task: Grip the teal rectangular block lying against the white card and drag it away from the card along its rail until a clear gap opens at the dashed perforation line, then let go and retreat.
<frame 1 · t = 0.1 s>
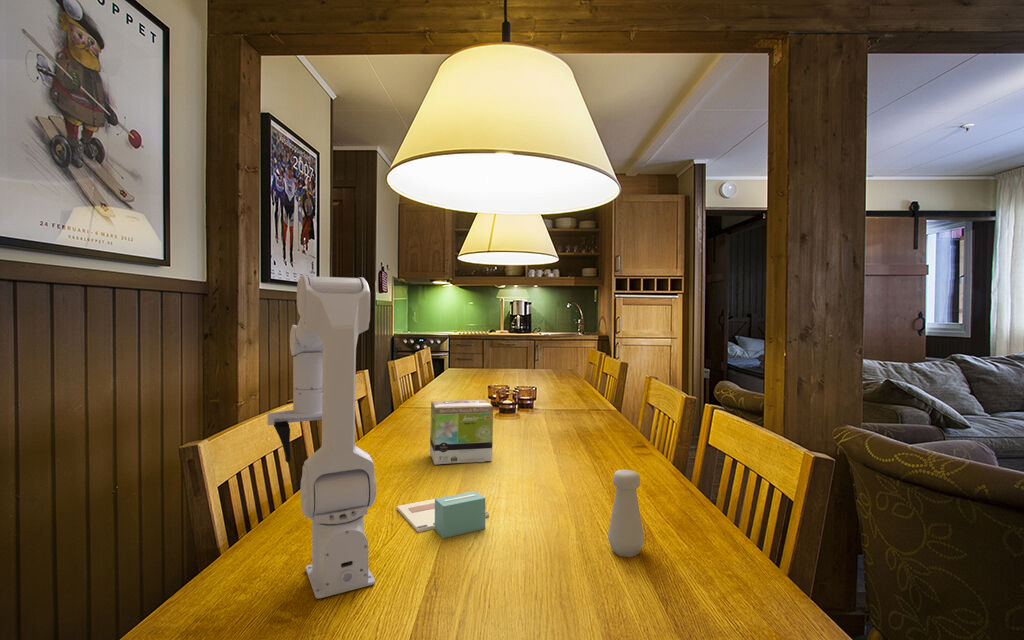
hand: (309, 458, 99), 10 cm above the table, tool pointing down, fingers open, 7 cm apart
white card: (442, 512, 98), on the table
tea box: (460, 459, 134), on the table
salt shaker: (625, 552, 83), on the table
teal rectangular block: (460, 513, 91), point 3 cm above the table, slide at 0.0 cm
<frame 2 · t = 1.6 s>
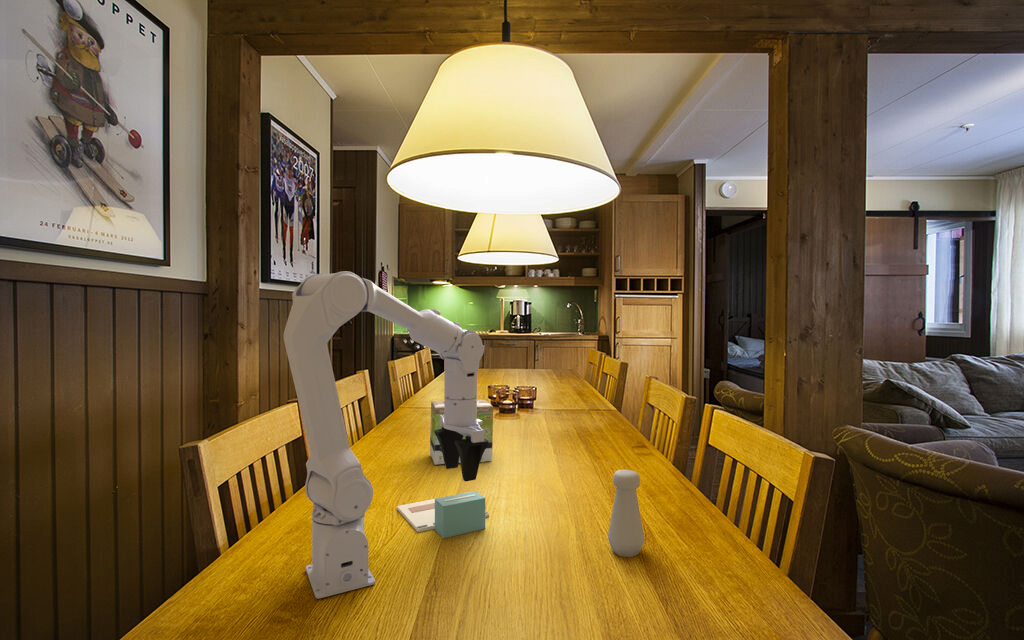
hand: (460, 473, 91), 10 cm above the table, tool pointing down, fingers open, 7 cm apart
nothing on the table moved.
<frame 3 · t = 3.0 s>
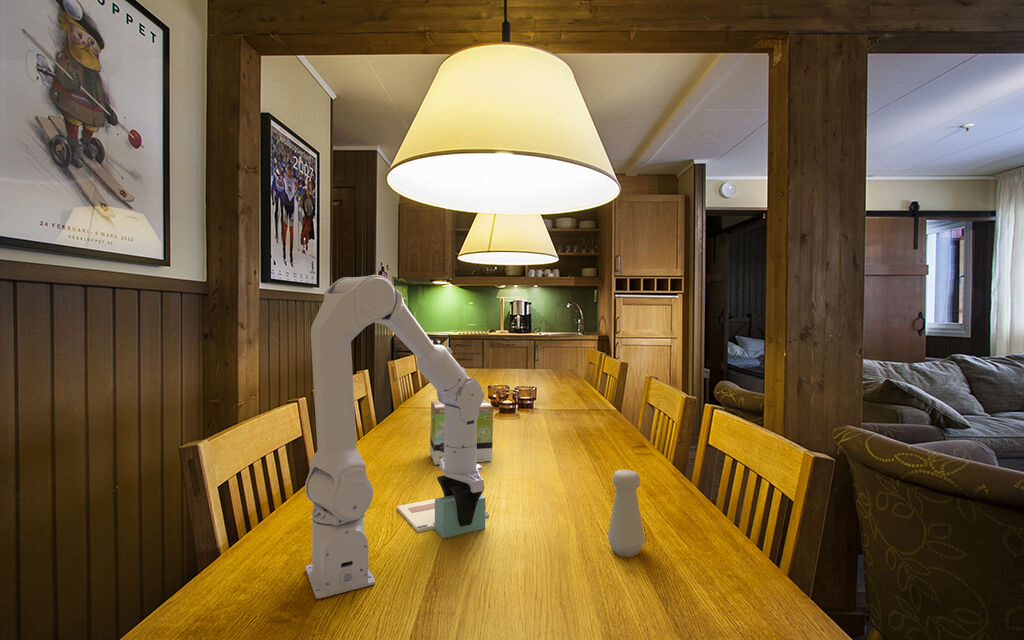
hand: (460, 520, 91), 2 cm above the table, tool pointing down, fingers closed on teal rectangular block, 4 cm apart
teal rectangular block: (460, 513, 91), point 3 cm above the table, slide at 0.0 cm, touching gripper
everything else where it was.
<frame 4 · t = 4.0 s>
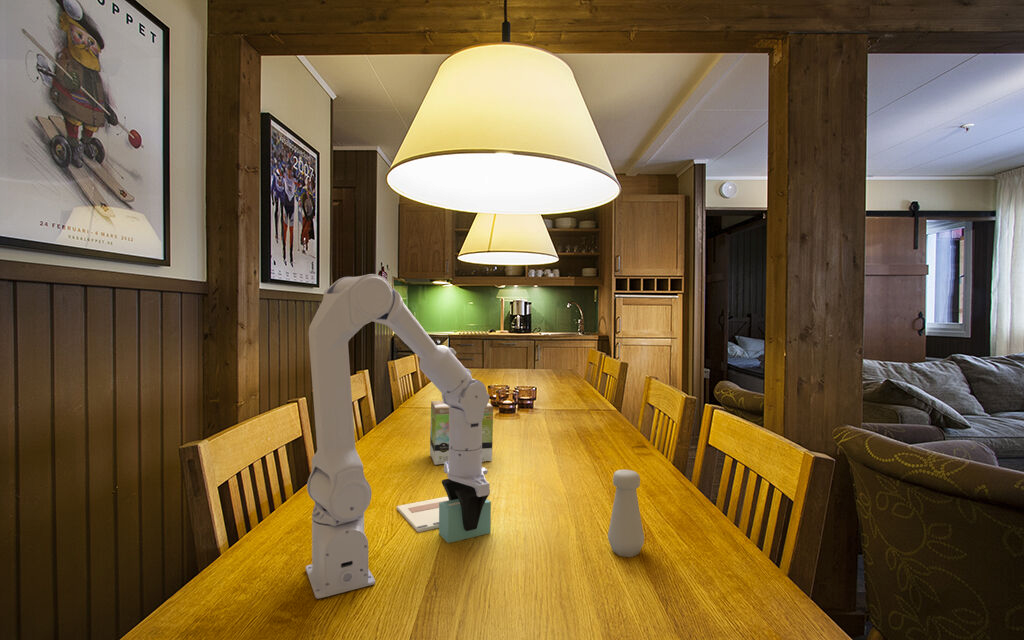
hand: (465, 524, 89), 2 cm above the table, tool pointing down, fingers closed on teal rectangular block, 4 cm apart
teal rectangular block: (464, 517, 89), point 3 cm above the table, slide at 2.1 cm, touching gripper
everything else where it was.
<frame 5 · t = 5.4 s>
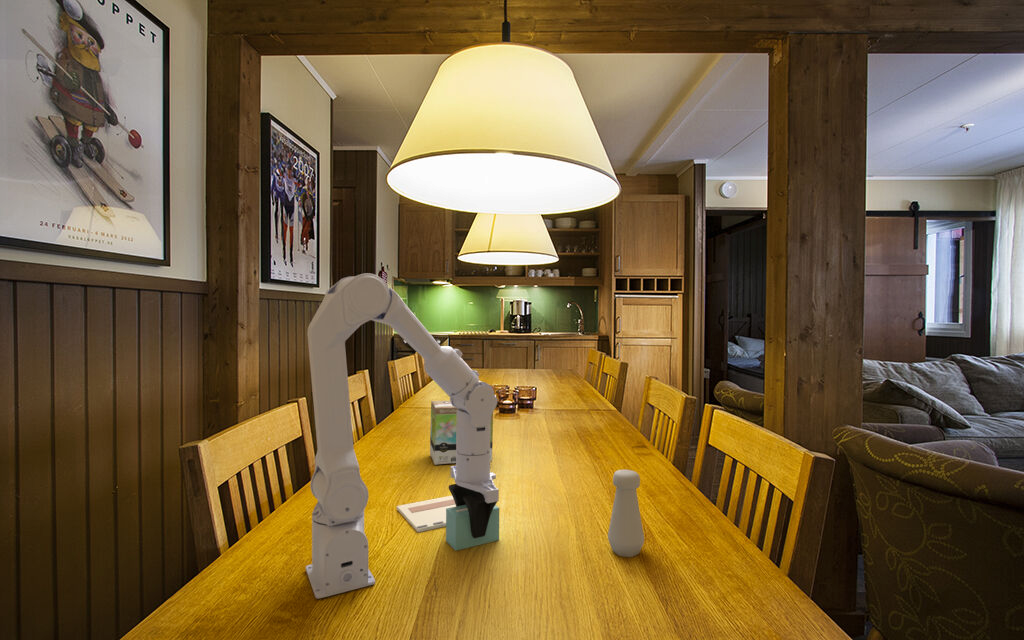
hand: (472, 531, 87), 2 cm above the table, tool pointing down, fingers closed on teal rectangular block, 4 cm apart
teal rectangular block: (472, 524, 87), point 3 cm above the table, slide at 5.2 cm, touching gripper
everything else where it was.
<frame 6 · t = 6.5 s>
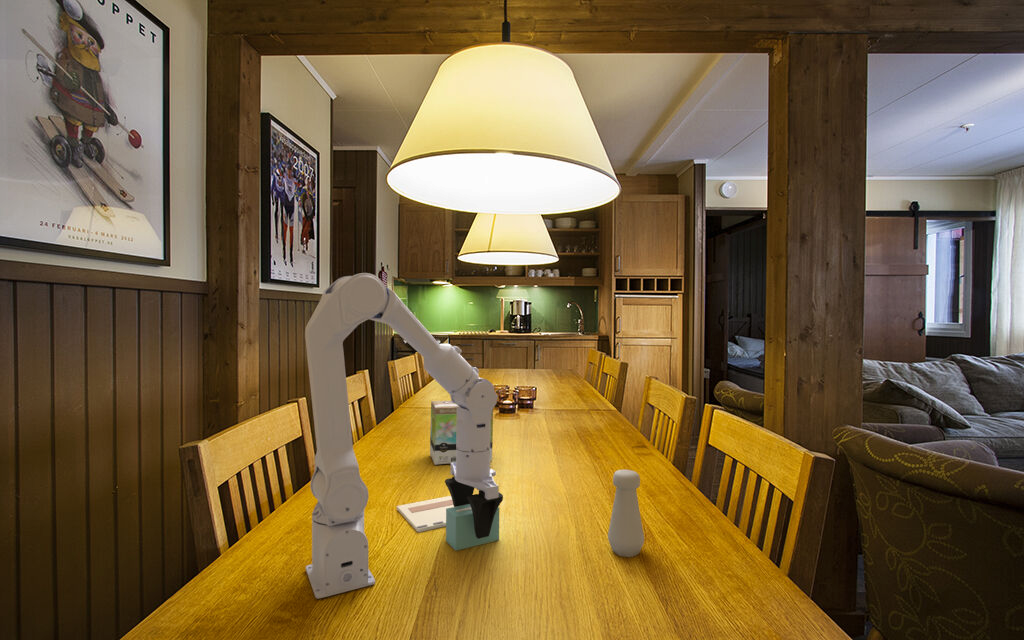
hand: (472, 527, 87), 2 cm above the table, tool pointing down, fingers open, 7 cm apart
teal rectangular block: (472, 524, 87), point 3 cm above the table, slide at 5.2 cm
everything else where it was.
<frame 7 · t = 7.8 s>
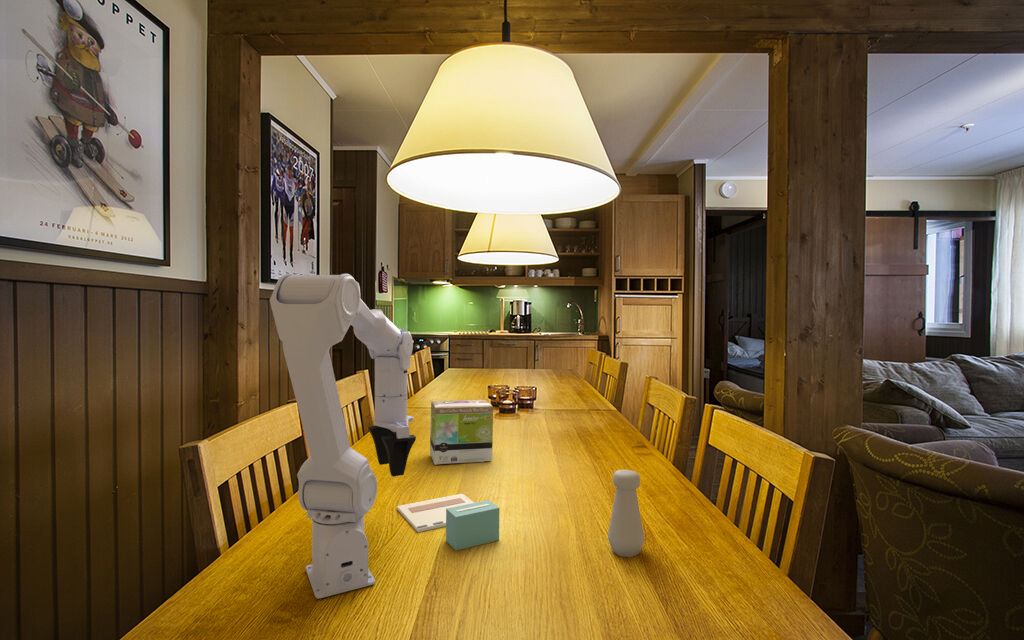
hand: (390, 469, 93), 10 cm above the table, tool pointing down, fingers open, 7 cm apart
nothing on the table moved.
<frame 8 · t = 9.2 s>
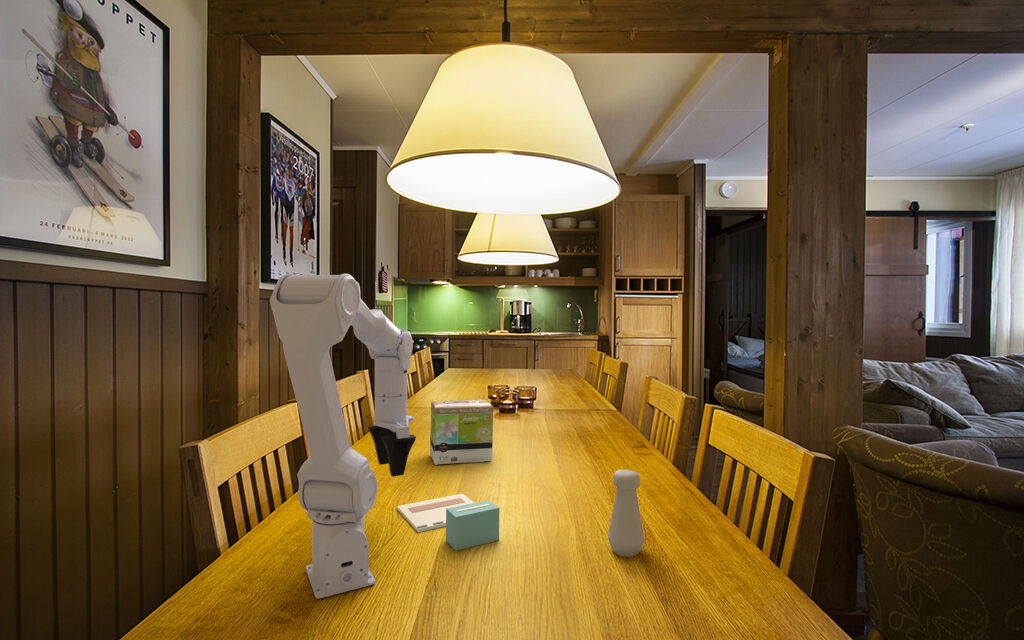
hand: (390, 469, 93), 10 cm above the table, tool pointing down, fingers open, 7 cm apart
nothing on the table moved.
at the end: teal rectangular block slide at 5.2 cm; the gripper is holding nothing; teal rectangular block touching nothing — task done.
